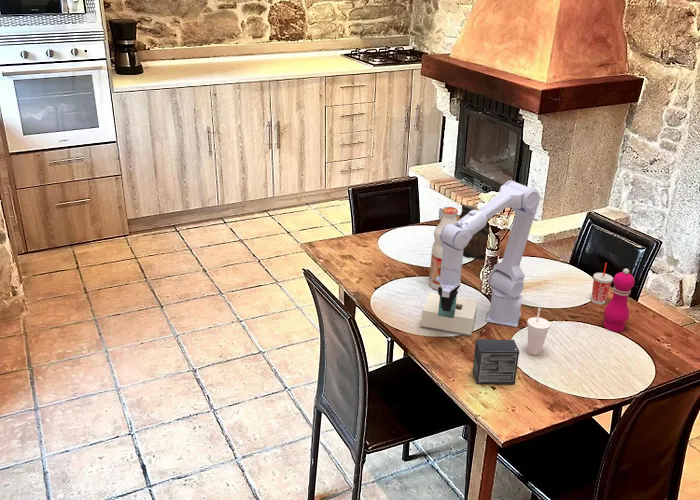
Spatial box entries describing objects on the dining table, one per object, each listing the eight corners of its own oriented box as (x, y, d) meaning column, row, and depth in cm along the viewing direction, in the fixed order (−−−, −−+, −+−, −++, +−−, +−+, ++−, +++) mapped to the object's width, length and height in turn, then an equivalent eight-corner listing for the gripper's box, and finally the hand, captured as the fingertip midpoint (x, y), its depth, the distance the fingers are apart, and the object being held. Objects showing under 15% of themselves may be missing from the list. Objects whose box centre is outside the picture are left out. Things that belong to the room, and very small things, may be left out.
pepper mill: (610, 333, 206) (623, 275, 198) (596, 322, 212) (608, 264, 204) (630, 331, 208) (644, 273, 199) (616, 319, 214) (629, 262, 206)
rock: (497, 259, 252) (504, 209, 244) (468, 263, 248) (474, 213, 239) (479, 245, 263) (485, 197, 255) (451, 250, 258) (456, 201, 250)
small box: (509, 370, 186) (514, 338, 182) (515, 385, 180) (520, 351, 176) (471, 370, 186) (475, 337, 181) (476, 384, 180) (480, 351, 175)
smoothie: (528, 343, 200) (535, 301, 194) (549, 351, 196) (556, 308, 190) (518, 351, 195) (525, 309, 189) (539, 360, 191) (547, 317, 186)
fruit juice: (444, 277, 237) (452, 202, 226) (462, 288, 230) (470, 211, 218) (423, 282, 233) (429, 206, 221) (440, 294, 225) (448, 216, 214)
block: (454, 314, 197) (456, 296, 195) (453, 318, 195) (455, 300, 193) (439, 311, 198) (441, 293, 196) (437, 315, 196) (439, 297, 194)
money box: (475, 317, 212) (477, 300, 210) (470, 336, 202) (472, 319, 199) (428, 309, 216) (430, 292, 213) (421, 327, 205) (422, 310, 203)
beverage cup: (587, 302, 224) (594, 264, 218) (590, 294, 229) (598, 257, 223) (606, 307, 221) (614, 268, 215) (609, 299, 226) (617, 261, 220)
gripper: (441, 253, 197) (437, 294, 203) (432, 274, 185) (428, 317, 190) (465, 257, 196) (461, 298, 201) (458, 278, 183) (453, 322, 189)
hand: (447, 308), depth 196 cm, fingers closed on block, 2 cm apart
